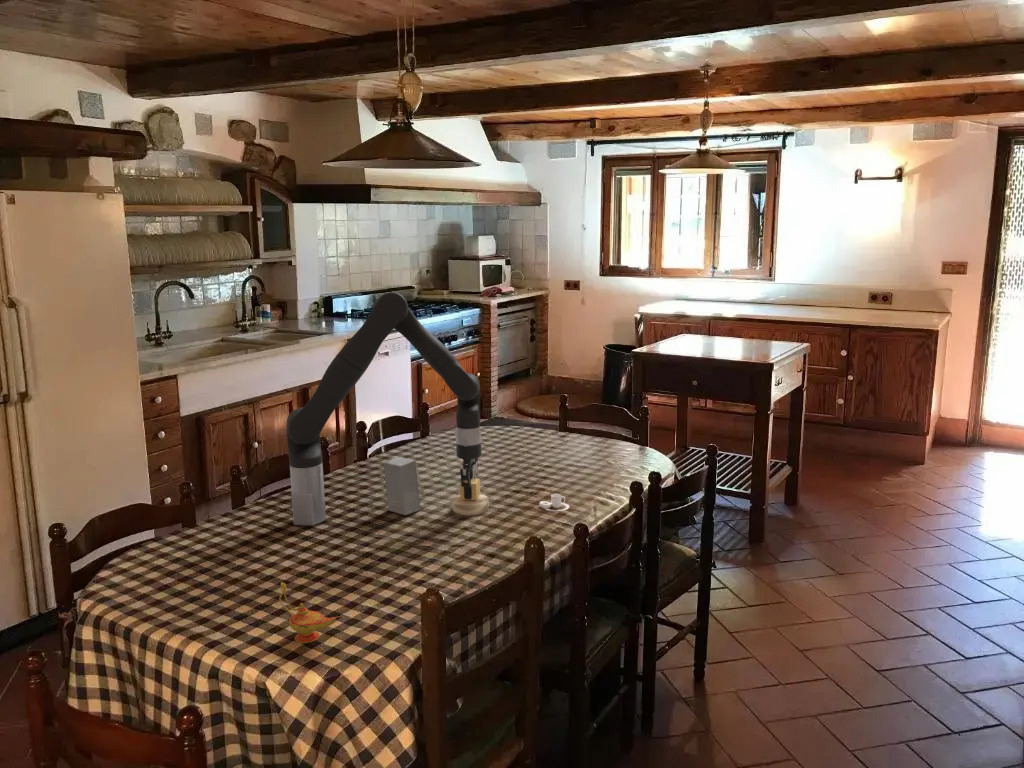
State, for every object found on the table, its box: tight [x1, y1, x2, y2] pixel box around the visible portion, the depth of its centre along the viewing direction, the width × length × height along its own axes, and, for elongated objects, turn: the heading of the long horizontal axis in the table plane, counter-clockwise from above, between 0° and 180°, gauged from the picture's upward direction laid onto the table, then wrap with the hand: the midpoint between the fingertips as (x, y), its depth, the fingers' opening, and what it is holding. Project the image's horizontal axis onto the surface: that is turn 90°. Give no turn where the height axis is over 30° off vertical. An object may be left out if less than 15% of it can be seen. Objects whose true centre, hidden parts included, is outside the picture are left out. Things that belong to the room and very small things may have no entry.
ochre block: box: [459, 478, 481, 500], centre depth 247 cm, size 5×5×5 cm
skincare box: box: [382, 456, 421, 516], centre depth 246 cm, size 8×7×16 cm
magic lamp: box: [278, 581, 345, 644], centre depth 171 cm, size 7×18×11 cm, turn 60°
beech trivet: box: [451, 493, 490, 516], centre depth 248 cm, size 11×11×3 cm
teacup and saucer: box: [538, 493, 570, 512], centre depth 249 cm, size 9×8×4 cm
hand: (470, 495), depth 247 cm, fingers closed on ochre block, 5 cm apart
